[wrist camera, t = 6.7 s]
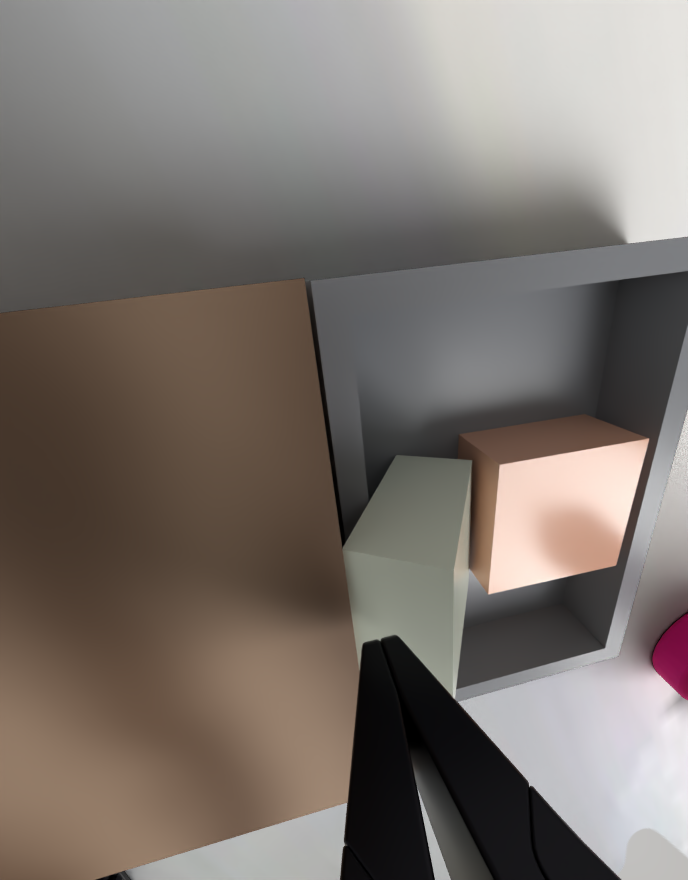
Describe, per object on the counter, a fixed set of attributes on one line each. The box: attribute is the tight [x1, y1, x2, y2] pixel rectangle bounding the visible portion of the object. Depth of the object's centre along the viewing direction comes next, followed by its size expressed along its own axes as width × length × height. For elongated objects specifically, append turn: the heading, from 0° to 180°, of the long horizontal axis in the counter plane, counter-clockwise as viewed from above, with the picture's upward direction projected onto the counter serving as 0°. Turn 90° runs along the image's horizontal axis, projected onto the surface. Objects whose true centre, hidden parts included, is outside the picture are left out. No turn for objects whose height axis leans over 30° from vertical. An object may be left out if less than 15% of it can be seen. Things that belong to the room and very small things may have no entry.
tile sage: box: [342, 455, 472, 699], centre depth 11 cm, size 5×5×2 cm
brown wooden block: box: [0, 278, 360, 880], centre depth 11 cm, size 12×16×5 cm
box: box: [305, 237, 688, 702], centre depth 13 cm, size 11×16×3 cm
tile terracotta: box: [458, 414, 649, 594], centre depth 13 cm, size 5×5×2 cm
